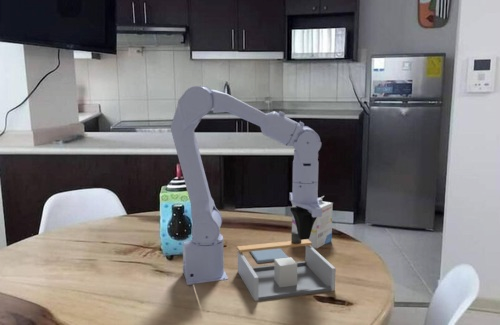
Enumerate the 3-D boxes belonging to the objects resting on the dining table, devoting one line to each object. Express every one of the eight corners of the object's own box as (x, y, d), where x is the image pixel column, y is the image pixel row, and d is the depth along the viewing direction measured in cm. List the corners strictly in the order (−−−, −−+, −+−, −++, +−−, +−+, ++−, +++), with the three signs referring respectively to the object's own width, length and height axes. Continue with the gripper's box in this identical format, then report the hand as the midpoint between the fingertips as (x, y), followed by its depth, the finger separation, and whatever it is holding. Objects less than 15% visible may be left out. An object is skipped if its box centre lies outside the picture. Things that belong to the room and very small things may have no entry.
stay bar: (239, 252, 103) (239, 240, 102) (237, 248, 105) (236, 236, 105) (311, 245, 108) (311, 233, 107) (307, 241, 110) (308, 229, 109)
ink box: (307, 235, 132) (308, 191, 129) (332, 241, 127) (333, 196, 124) (290, 243, 125) (291, 197, 123) (316, 250, 120) (317, 202, 118)
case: (254, 303, 92) (254, 277, 91) (237, 273, 106) (237, 251, 105) (334, 292, 96) (335, 268, 95) (308, 265, 110) (308, 243, 109)
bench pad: (258, 264, 111) (258, 260, 110) (249, 253, 118) (249, 248, 118) (288, 261, 113) (288, 257, 112) (278, 250, 120) (278, 245, 120)
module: (279, 287, 98) (280, 265, 97) (274, 279, 101) (274, 258, 100) (297, 285, 99) (297, 263, 98) (290, 277, 102) (291, 257, 101)
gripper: (335, 187, 94) (333, 247, 97) (309, 173, 108) (307, 227, 111) (304, 189, 93) (303, 251, 95) (281, 175, 106) (281, 229, 109)
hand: (304, 238), depth 103 cm, fingers closed
